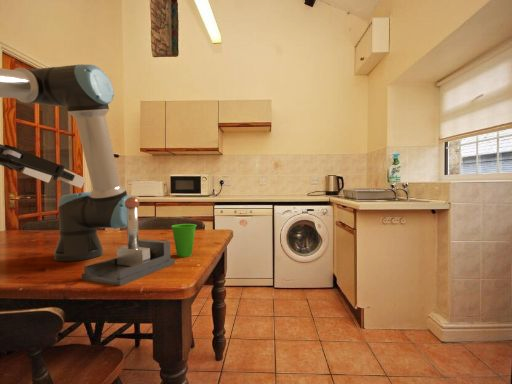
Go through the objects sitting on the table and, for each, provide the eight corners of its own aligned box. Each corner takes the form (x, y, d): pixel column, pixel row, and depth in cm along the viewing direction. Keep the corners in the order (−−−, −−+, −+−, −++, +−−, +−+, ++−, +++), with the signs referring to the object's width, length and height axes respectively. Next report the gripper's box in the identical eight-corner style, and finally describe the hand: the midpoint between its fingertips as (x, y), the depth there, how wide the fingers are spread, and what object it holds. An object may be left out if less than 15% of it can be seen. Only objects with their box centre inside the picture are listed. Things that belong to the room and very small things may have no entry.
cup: (200, 252, 107) (199, 223, 106) (192, 258, 98) (191, 227, 97) (177, 252, 107) (176, 223, 107) (167, 258, 98) (166, 227, 98)
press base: (120, 285, 72) (119, 256, 71) (81, 279, 77) (81, 252, 77) (174, 263, 92) (174, 240, 92) (141, 259, 97) (141, 238, 97)
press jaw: (141, 267, 81) (140, 197, 81) (115, 264, 85) (114, 197, 84) (151, 264, 85) (150, 196, 84) (126, 261, 89) (124, 196, 88)
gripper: (-75, 151, 59) (31, 188, 77) (-14, 159, 48) (91, 200, 67) (-55, 120, 61) (44, 163, 79) (7, 122, 50) (104, 171, 69)
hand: (65, 180), depth 73 cm, fingers open, 13 cm apart
